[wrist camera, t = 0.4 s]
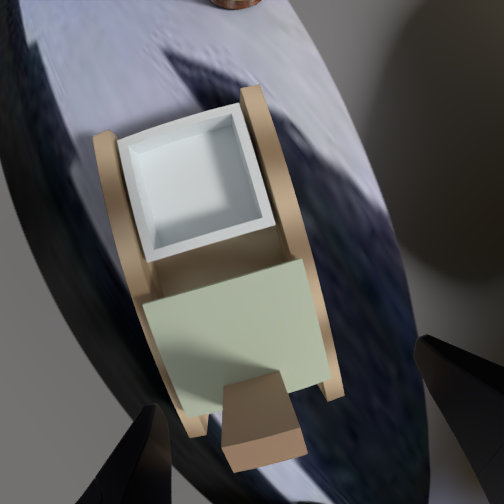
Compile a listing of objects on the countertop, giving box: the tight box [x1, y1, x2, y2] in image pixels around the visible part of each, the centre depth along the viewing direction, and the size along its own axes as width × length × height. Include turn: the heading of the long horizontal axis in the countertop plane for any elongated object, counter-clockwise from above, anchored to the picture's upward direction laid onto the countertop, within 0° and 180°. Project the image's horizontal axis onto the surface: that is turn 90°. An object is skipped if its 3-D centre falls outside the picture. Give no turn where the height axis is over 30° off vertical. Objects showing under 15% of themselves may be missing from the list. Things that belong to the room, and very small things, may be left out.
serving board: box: [92, 84, 344, 438], centre depth 23 cm, size 24×14×4 cm, turn 16°
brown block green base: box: [142, 258, 332, 473], centre depth 17 cm, size 9×11×8 cm
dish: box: [117, 103, 276, 263], centre depth 22 cm, size 9×9×3 cm
